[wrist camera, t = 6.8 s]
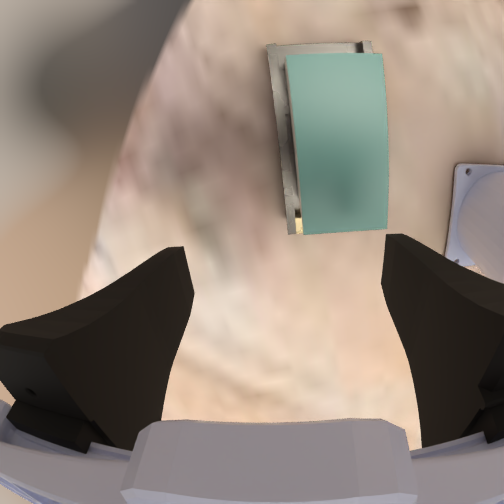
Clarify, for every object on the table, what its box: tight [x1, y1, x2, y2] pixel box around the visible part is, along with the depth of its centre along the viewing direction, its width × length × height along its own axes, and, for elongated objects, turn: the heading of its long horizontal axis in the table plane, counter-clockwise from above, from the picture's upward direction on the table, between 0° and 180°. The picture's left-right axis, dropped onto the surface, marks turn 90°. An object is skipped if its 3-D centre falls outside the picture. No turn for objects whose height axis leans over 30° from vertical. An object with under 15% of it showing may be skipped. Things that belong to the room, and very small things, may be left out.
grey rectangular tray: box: [266, 41, 373, 234], centre depth 17 cm, size 6×11×2 cm, turn 8°
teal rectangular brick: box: [284, 53, 389, 235], centre depth 15 cm, size 4×8×5 cm, turn 8°
